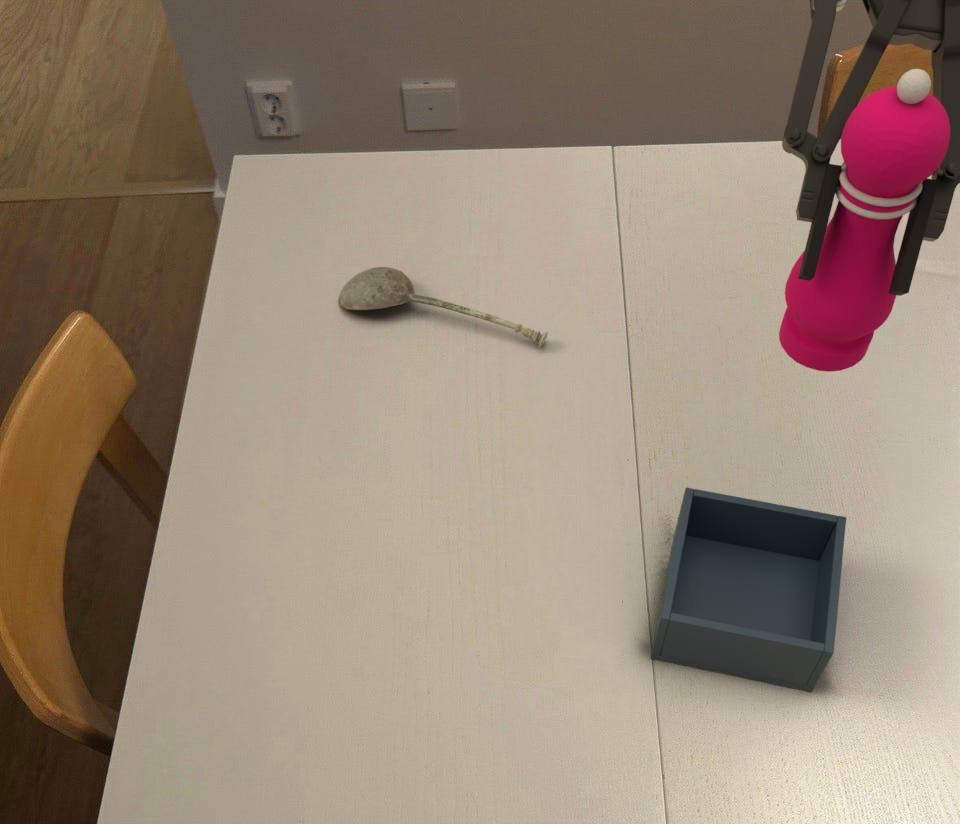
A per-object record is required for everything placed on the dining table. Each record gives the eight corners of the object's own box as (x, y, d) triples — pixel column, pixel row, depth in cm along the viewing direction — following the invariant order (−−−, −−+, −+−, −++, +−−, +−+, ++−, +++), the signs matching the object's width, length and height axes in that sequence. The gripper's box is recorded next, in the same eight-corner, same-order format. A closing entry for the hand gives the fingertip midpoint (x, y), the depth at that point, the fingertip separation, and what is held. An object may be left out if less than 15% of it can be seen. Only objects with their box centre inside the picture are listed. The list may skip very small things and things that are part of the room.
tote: (825, 561, 90) (846, 516, 85) (811, 692, 84) (833, 653, 78) (674, 532, 92) (685, 486, 87) (650, 658, 86) (660, 617, 80)
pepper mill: (874, 311, 77) (983, 40, 60) (874, 384, 74) (990, 117, 56) (773, 299, 78) (853, 28, 61) (768, 370, 74) (851, 103, 57)
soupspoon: (358, 273, 110) (330, 317, 107) (352, 247, 107) (323, 292, 104) (557, 324, 105) (533, 371, 102) (557, 298, 102) (532, 346, 99)
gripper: (1099, -89, 63) (983, 313, 69) (793, -124, 66) (708, 267, 72) (1152, -148, 56) (1018, 306, 62) (806, -185, 58) (710, 255, 65)
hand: (852, 284), depth 67 cm, fingers closed on pepper mill, 5 cm apart
